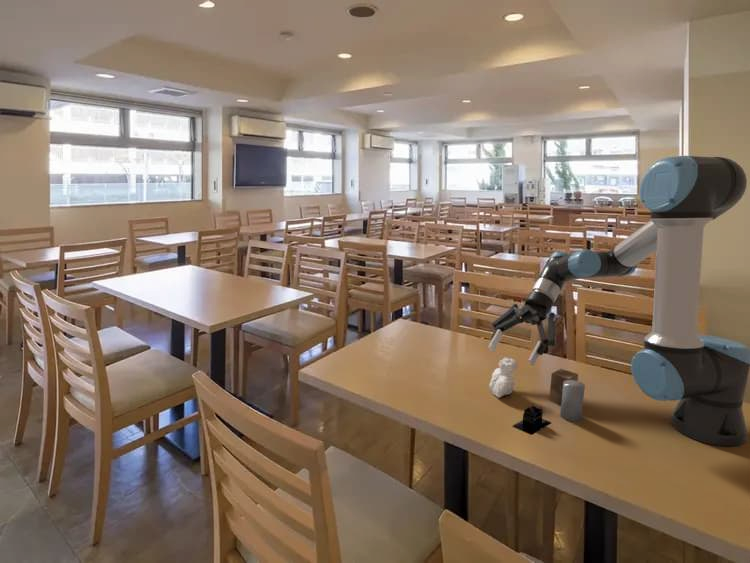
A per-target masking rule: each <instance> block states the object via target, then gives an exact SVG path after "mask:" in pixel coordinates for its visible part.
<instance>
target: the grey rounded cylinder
mask: <svg viewBox="0 0 750 563" xmlns="http://www.w3.org/2000/svg"><path fill="white" fill-rule="evenodd" d="M585 389H586V384H584V382H581V381H579V380H578V381H574V380H566V381H564V384H563V393H562V403H561V405H560V414H559V415H560V418H562V419H563V420H565V421H567V422H571V423H572V422H575V423H577V422H580V421H581V420H582V415H583V414H582V413H583V406H584V397H585V396H584V395H585Z"/></svg>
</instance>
